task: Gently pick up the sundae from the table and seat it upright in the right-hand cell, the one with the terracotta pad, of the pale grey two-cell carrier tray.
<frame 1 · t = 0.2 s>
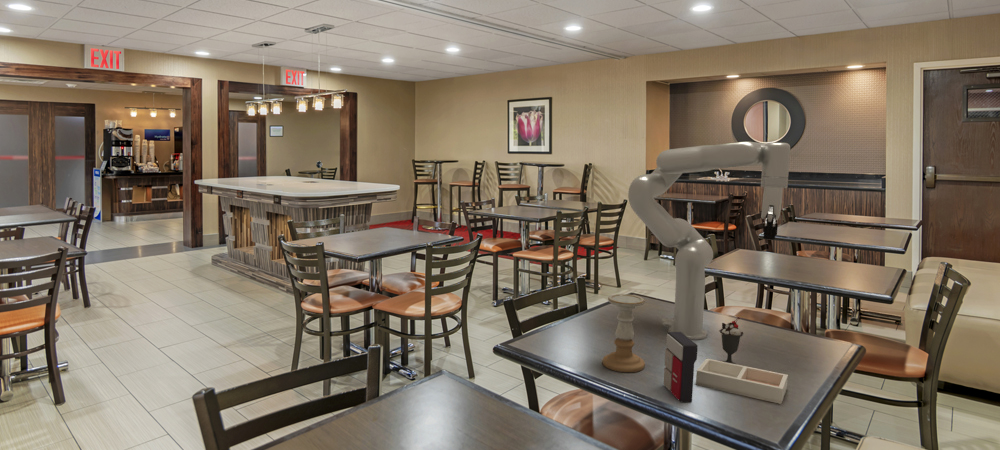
hand: (770, 237, 178), 36 cm above the table, tool pointing down, fingers open, 9 cm apart
sundae: (729, 365, 169), on the table
carrier tray: (741, 386, 153), on the table
candle holder: (623, 365, 168), on the table
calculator: (677, 394, 148), on the table
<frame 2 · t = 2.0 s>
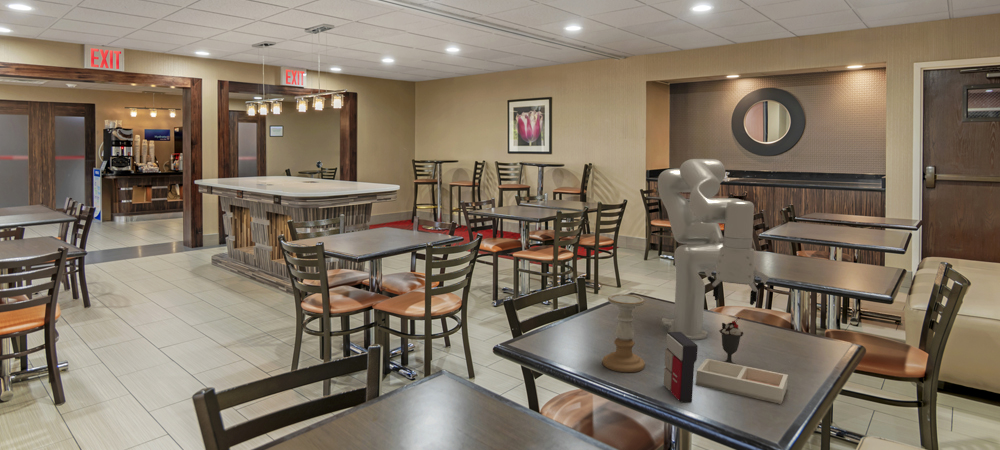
hand: (734, 301, 165), 19 cm above the table, tool pointing down, fingers open, 9 cm apart
nothing on the table moved.
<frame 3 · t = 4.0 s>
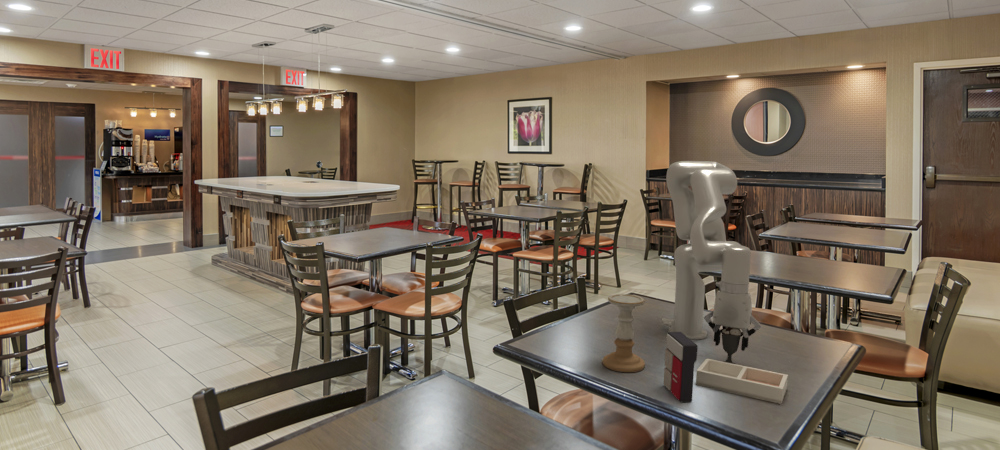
hand: (730, 346, 168), 6 cm above the table, tool pointing down, fingers closed on sundae, 6 cm apart
sundae: (729, 365, 168), on the table, touching gripper
everything else where it was.
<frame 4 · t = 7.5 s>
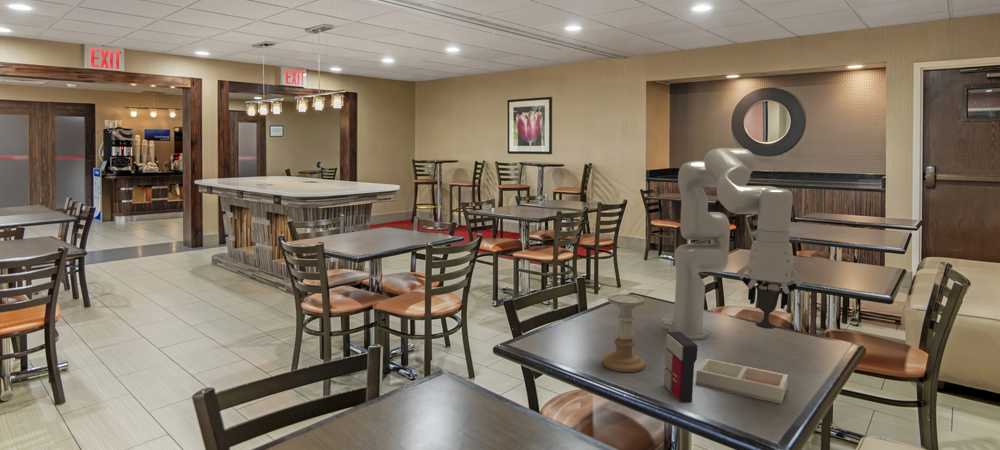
hand: (767, 304, 147), 24 cm above the table, tool pointing down, fingers closed on sundae, 6 cm apart
sundae: (765, 326, 148), point 18 cm above the table, touching gripper
everything else where it was.
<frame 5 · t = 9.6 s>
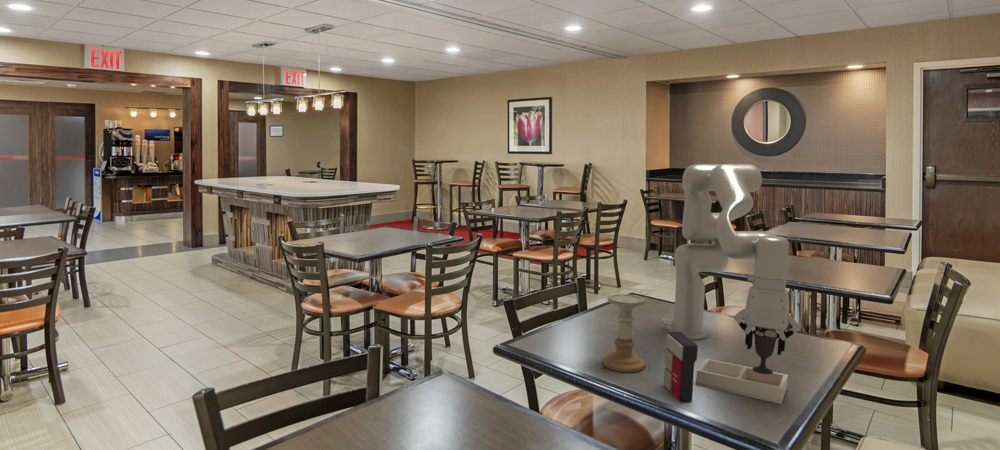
hand: (764, 350, 149), 11 cm above the table, tool pointing down, fingers closed on sundae, 6 cm apart
sundae: (762, 371, 149), point 6 cm above the table, touching gripper
everything else where it was.
when the fingers open (8 cm above the table, at t = 11.3 s): sundae drops 1 cm, resting on carrier tray.
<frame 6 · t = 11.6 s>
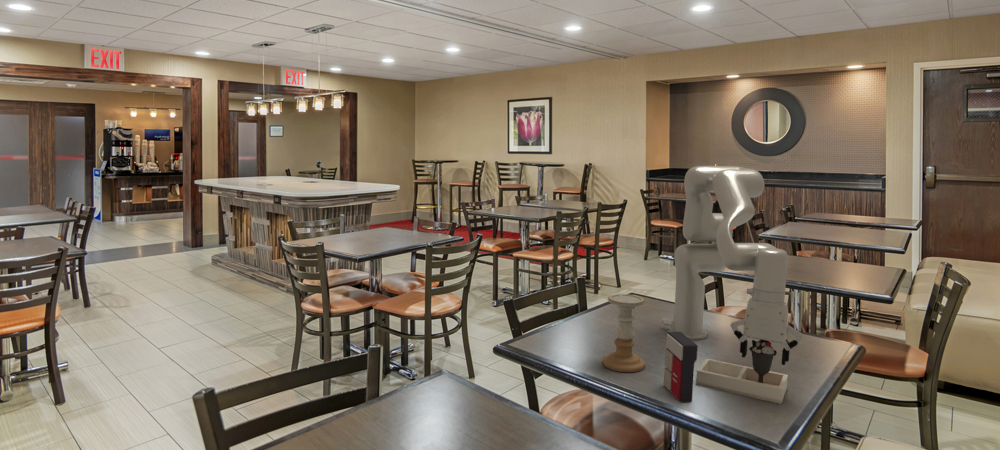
hand: (763, 359, 149), 9 cm above the table, tool pointing down, fingers open, 9 cm apart
sundae: (760, 387, 150), point 1 cm above the table, touching carrier tray
everything else where it was.
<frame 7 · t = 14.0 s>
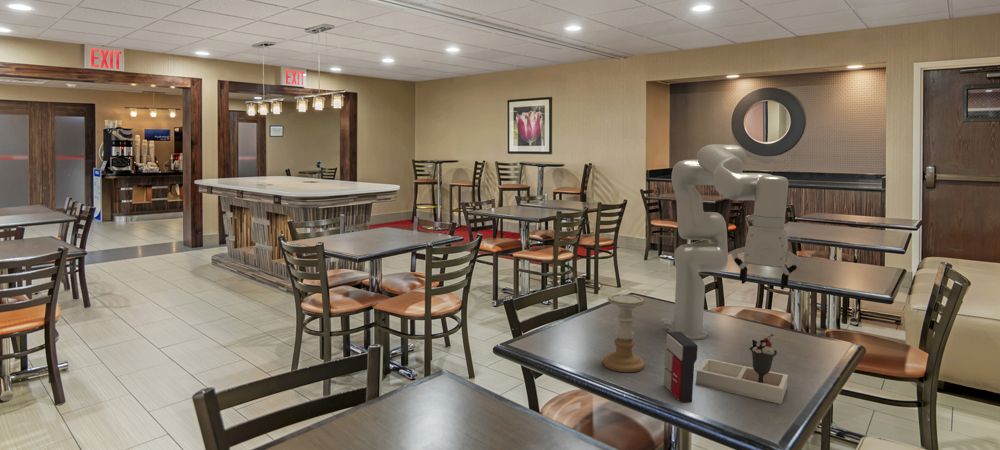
hand: (762, 285, 153), 27 cm above the table, tool pointing down, fingers open, 9 cm apart
nothing on the table moved.
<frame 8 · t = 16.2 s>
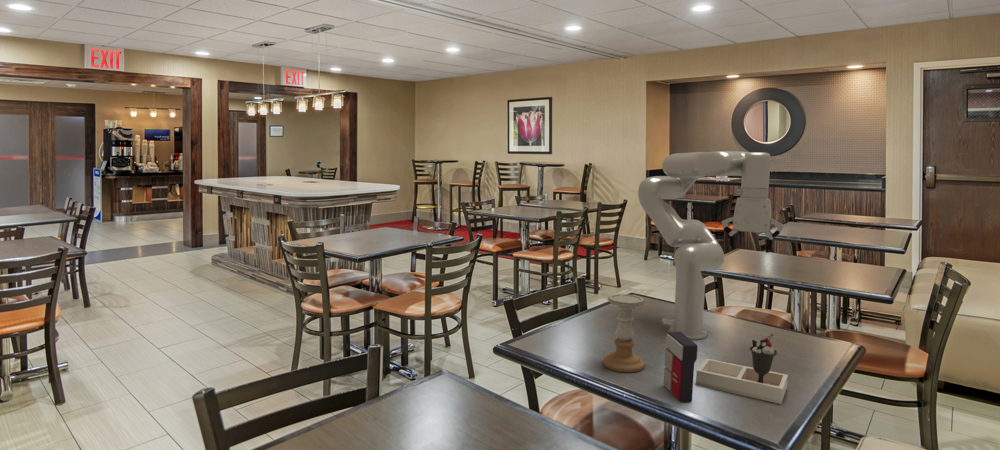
hand: (750, 250, 171), 33 cm above the table, tool pointing down, fingers open, 9 cm apart
nothing on the table moved.
at the end: sundae 0.4 cm from the target spot on the carrier tray, point 0.8 cm above the carrier tray's base; sundae tilted 0°; the gripper is holding nothing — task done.
